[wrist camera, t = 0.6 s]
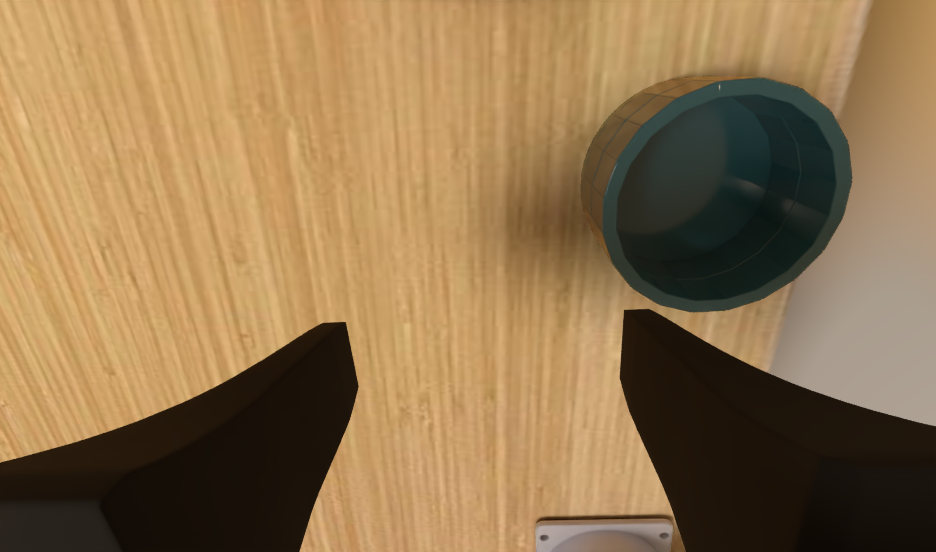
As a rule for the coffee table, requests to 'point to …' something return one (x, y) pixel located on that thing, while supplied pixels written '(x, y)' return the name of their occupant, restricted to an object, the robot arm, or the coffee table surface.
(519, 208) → the coffee table surface
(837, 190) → the bowl
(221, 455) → the robot arm
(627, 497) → the coffee table surface
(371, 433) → the coffee table surface
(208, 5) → the coffee table surface
